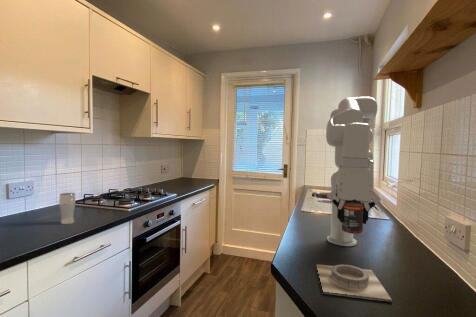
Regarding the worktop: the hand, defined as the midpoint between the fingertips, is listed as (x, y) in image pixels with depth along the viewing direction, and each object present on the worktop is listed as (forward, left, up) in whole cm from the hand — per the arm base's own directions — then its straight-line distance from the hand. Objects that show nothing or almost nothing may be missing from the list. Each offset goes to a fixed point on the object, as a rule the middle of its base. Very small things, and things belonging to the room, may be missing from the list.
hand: (352, 221), depth 83 cm
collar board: (0, 0, -19) cm, 19 cm away
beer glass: (-32, -131, -20) cm, 136 cm away
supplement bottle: (0, 0, -3) cm, 3 cm away
